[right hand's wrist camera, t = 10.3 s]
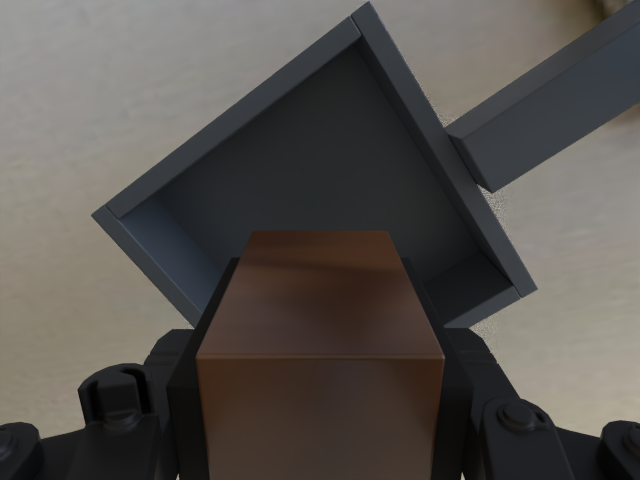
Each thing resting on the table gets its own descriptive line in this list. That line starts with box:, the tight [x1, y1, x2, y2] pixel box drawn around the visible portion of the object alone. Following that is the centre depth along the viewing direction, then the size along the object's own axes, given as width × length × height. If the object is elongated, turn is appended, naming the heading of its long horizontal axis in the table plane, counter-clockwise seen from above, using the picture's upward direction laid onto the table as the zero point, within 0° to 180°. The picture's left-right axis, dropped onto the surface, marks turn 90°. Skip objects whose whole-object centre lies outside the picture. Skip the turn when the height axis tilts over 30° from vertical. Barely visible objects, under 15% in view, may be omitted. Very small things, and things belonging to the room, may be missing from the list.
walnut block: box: [196, 231, 445, 480], centre depth 12 cm, size 4×4×7 cm
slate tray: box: [91, 0, 640, 328], centre depth 18 cm, size 30×14×6 cm, turn 125°
